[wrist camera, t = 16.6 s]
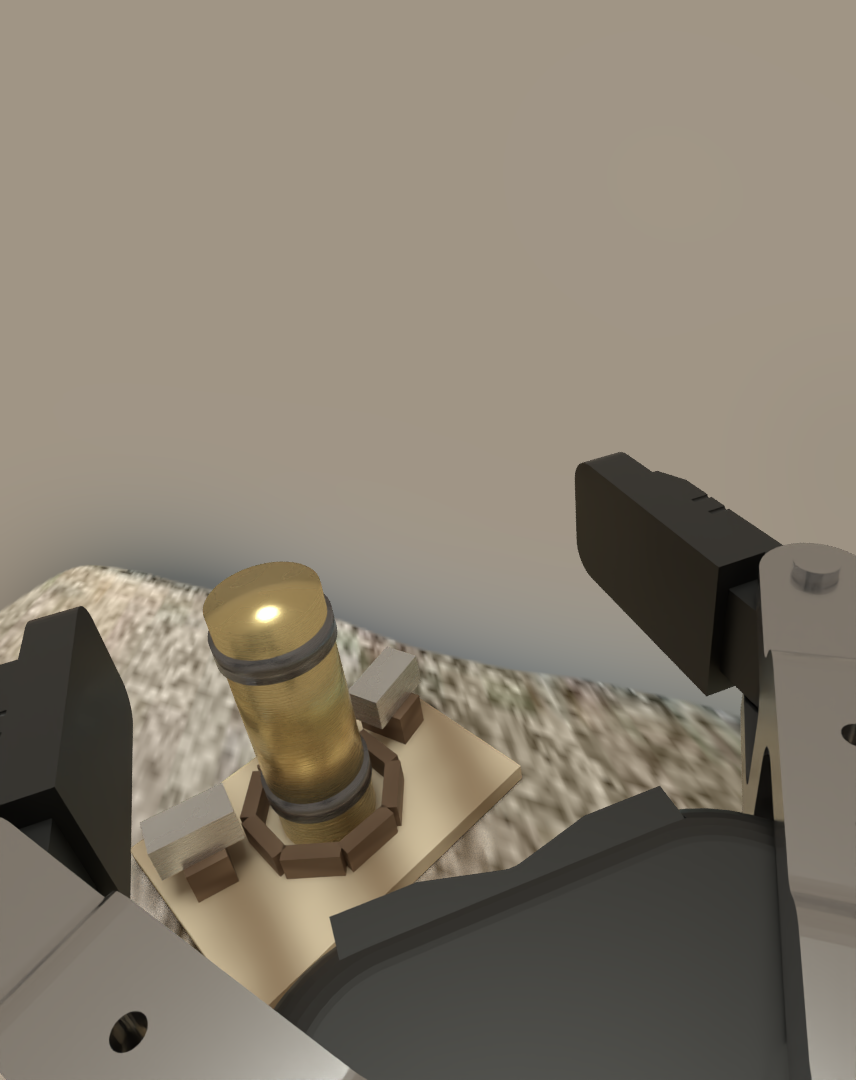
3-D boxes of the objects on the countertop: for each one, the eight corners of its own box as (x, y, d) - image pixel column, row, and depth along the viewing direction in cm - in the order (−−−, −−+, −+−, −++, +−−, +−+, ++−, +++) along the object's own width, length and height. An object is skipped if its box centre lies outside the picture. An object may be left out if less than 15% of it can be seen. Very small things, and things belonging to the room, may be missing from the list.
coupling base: (257, 1032, 31) (238, 996, 29) (135, 860, 39) (115, 824, 37) (521, 778, 40) (518, 739, 38) (379, 680, 48) (371, 645, 46)
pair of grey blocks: (172, 894, 33) (157, 868, 32) (144, 855, 35) (129, 829, 34) (433, 689, 42) (428, 663, 41) (398, 667, 44) (393, 642, 43)
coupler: (318, 875, 35) (241, 656, 28) (258, 812, 39) (175, 603, 32) (401, 803, 38) (350, 587, 31) (337, 751, 42) (279, 546, 34)
